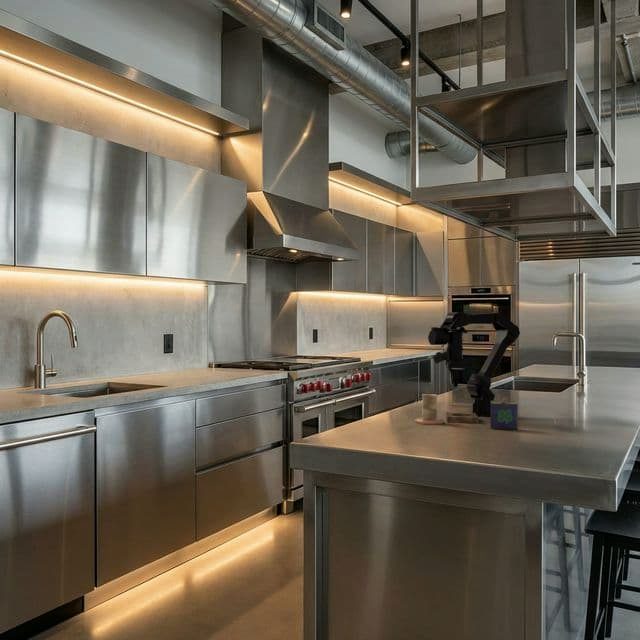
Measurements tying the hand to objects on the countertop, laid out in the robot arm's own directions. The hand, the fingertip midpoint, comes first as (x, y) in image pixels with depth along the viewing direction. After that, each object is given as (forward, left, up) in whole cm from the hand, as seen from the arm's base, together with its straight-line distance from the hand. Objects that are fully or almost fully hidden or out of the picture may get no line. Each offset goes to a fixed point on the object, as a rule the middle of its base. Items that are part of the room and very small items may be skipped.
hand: (454, 385), depth 239 cm
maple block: (+10, +15, -11) cm, 21 cm away
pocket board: (-2, +8, -12) cm, 15 cm away
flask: (-15, +24, -12) cm, 31 cm away
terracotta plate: (+10, +15, -12) cm, 22 cm away
